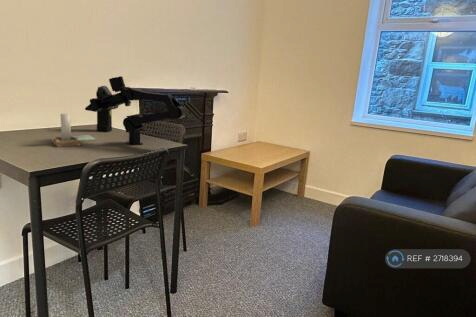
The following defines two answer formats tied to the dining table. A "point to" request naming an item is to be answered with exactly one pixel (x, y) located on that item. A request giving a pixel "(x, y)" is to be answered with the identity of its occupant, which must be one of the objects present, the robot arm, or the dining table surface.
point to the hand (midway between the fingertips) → (91, 108)
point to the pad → (84, 138)
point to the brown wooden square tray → (66, 142)
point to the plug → (65, 127)
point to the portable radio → (103, 118)
